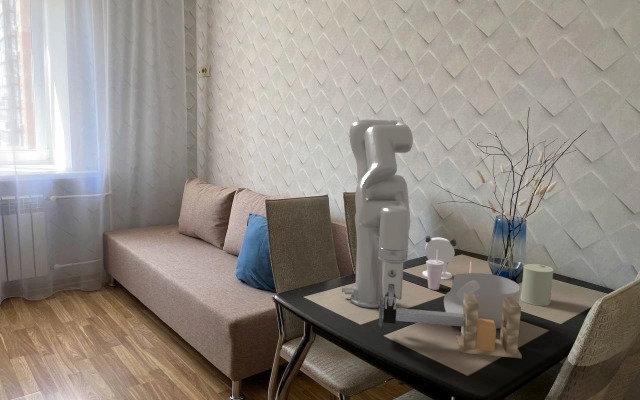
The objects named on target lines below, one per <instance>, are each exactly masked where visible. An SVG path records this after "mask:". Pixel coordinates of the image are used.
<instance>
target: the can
mask: <svg viewBox="0 0 640 400" xmlns="http://www.w3.org/2000/svg"><path fill="white" fill-rule="evenodd" d="M522 271H523V273H522V281H521V282H522V283H521V294H520V296H519V300H520V301H522V302H524V303H525V304H529V305H532V306H539V307H546V306H549V305H551V303H552V302H551V298H552V297H551V296H552V286H553V278H554V272H555V269H554V268H553V267H550V266H547V265H544V264H538V263H526V264H524V265H523V270H522Z"/></svg>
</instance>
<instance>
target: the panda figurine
mask: <svg viewBox="0 0 640 400" xmlns="http://www.w3.org/2000/svg"><path fill="white" fill-rule="evenodd" d="M424 238H425V239H424V241H425V243H426V244H425V247H424V251H425V252H424V253H425V256H426V258H427V259H426V261H427V260H436V254H437V250H438V260H440V261H443V262H444V266H443V271H442V275H441V280H440V281H443V280H444V279H445V280H450V279H452V278H453V274H452V273H450V272H448V271H447V266H448V265H449V263H450V262H451V261H452V260H453V259H454V257H455V248H454V247H456V245H457V242H456V238H454V237H451V238H450V239H447V238H445V237H439V236H438V237H432V238H431V236H430V235H426V236H425V237H424ZM422 276H423V277H426V278H428V275H427V269H426V270H423V271H422Z"/></svg>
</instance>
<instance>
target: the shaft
mask: <svg viewBox="0 0 640 400" xmlns="http://www.w3.org/2000/svg"><path fill="white" fill-rule="evenodd" d="M378 309H379V311H378V327H383V314H384V306H383V300H380V307H379V308H378ZM465 321H466V316H465V314H461V313H449V312H446V311H437V310H436V311H434V310H425V309H424V310H423V309H412V308H411V309H410V308H399V307H396V322H407V323H419V324H429V325H439V326H441V325H442V326H451V327H452V326H453V327H465Z"/></svg>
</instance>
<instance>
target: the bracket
mask: <svg viewBox="0 0 640 400" xmlns="http://www.w3.org/2000/svg"><path fill="white" fill-rule="evenodd" d="M478 306H479V304H478V302H477V300H476V298H475V296H474V294H465V293H464V300H463V314H465V316H466V321H465V327H462V326H460V329H461V331H460V335H456V341H457V345H458V347H459V348H458V349H459V351H460V353H462V354H463V353H465V354H472V355H483V356H492V357H493V356H494V357H502V358H503V357H504V358H513V359H522V354H521V351H520V350H519V347H518V344H519V334H520V323H521V322H520V321H521V315H522V314H521V313H522V306H521V305H520V304H518V302H517V301H516V300H515V298H514V297H504V298H503V309H502V321H501V328H500V334H499V339H498V338H495V349H494V351H488V350H480V349H475V344H476V331H477V319H478Z"/></svg>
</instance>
